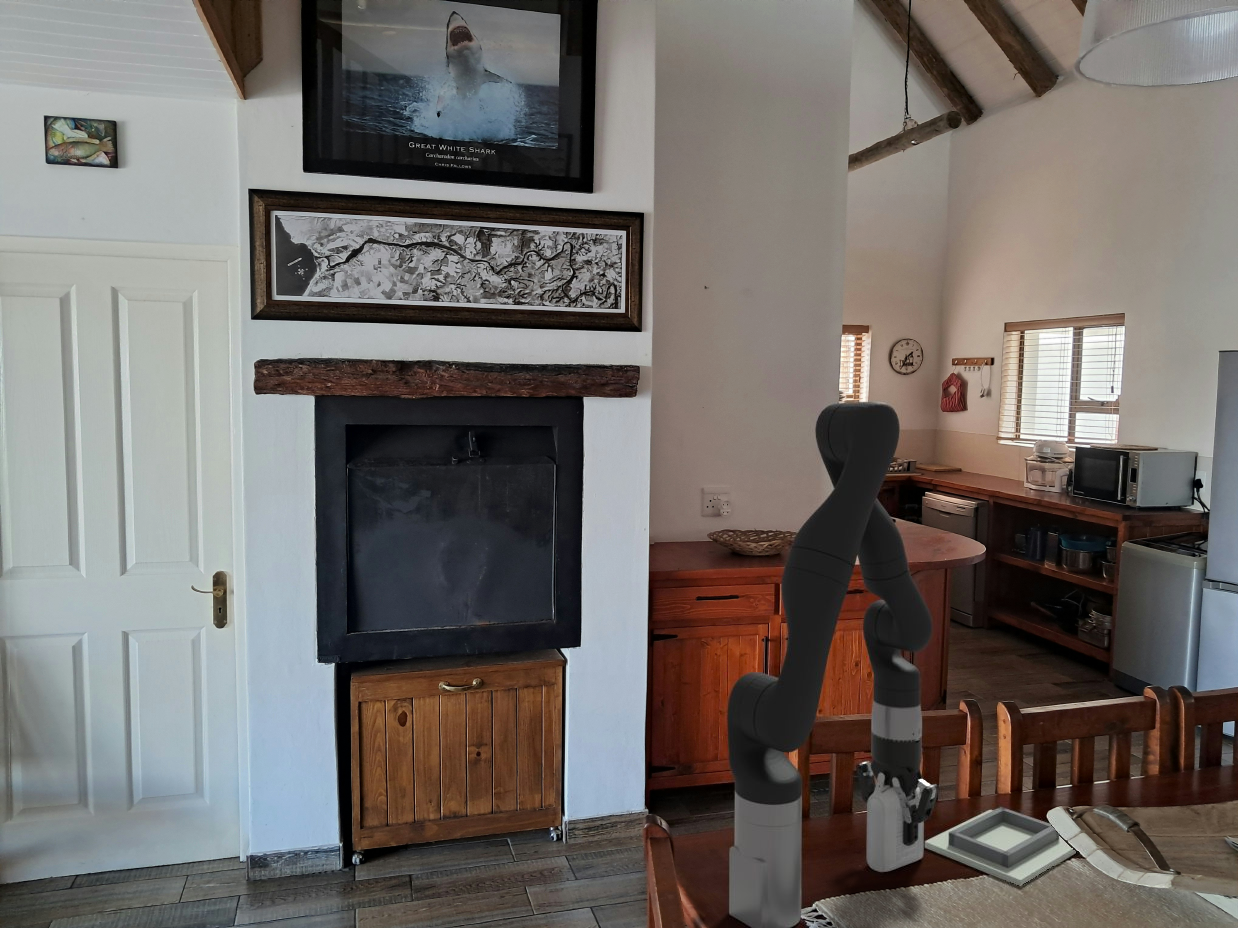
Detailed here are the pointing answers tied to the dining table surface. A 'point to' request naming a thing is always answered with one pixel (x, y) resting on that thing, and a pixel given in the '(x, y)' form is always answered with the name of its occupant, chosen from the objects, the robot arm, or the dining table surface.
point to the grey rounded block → (889, 832)
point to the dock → (1003, 845)
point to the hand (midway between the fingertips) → (895, 837)
